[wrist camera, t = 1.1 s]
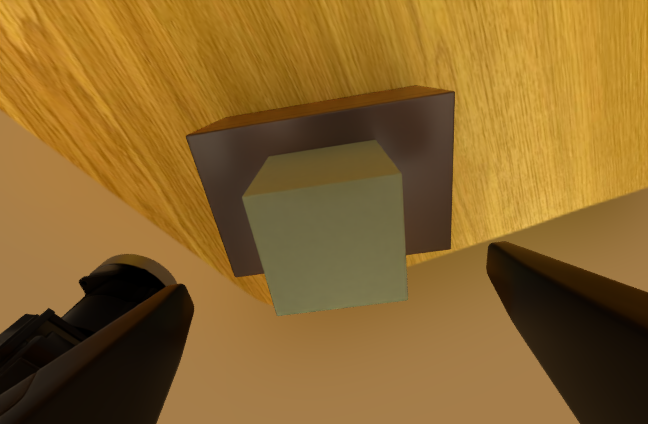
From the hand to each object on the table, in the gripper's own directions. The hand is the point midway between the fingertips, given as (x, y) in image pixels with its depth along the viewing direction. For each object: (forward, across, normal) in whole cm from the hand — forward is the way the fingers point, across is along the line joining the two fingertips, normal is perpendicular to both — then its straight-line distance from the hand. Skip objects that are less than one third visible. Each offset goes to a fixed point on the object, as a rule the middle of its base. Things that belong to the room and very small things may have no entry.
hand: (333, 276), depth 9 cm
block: (+6, 0, 0) cm, 6 cm away
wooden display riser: (+12, 0, 0) cm, 12 cm away
